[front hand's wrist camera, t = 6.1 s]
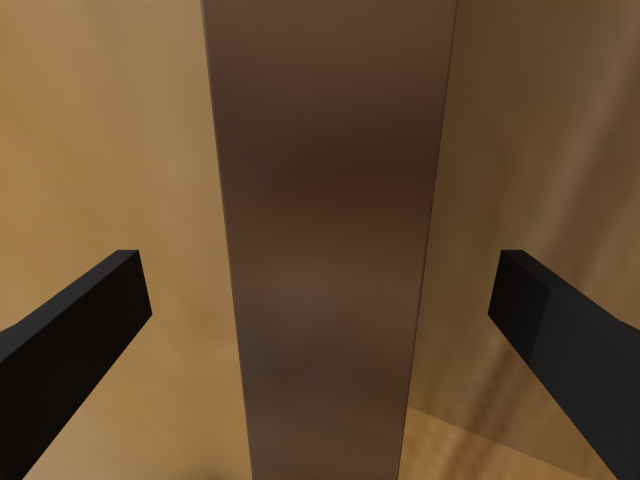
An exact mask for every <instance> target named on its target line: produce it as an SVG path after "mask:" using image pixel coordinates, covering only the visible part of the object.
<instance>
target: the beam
mask: <svg viewBox="0 0 640 480" xmlns="http://www.w3.org/2000/svg"><path fill="white" fill-rule="evenodd" d="M200 1H201V10H202V19H203V28H204V38H205V47H206V56H207V65H208V74H209V84H210V93H211V102H212V111H213V120H214V130H215V139H216V148H217V157H218V166H219V176H220V185H221V194H222V203H223V212H224V222H225V231H226V240H227V249H228V258H229V268H230V277H231V286H232V295H233V304H234V314H235V323H236V332H237V341H238V350H239V360H240V369H241V378H242V387H243V396H244V406H245V415H246V424H247V433H248V442H249V452H250V461H251V470H252V479H253V480H398V474H399V466H400V458H401V450H402V442H403V434H404V426H405V418H406V410H407V403H408V395H409V387H410V379H411V371H412V363H413V355H414V347H415V339H416V331H417V323H418V315H419V307H420V299H421V291H422V283H423V275H424V267H425V259H426V251H427V243H428V235H429V227H430V219H431V211H432V203H433V196H434V188H435V180H436V172H437V164H438V156H439V148H440V140H441V132H442V124H443V116H444V108H445V100H446V92H447V84H448V76H449V68H450V60H451V52H452V44H453V36H454V28H455V20H456V12H457V4H458V0H200Z"/></svg>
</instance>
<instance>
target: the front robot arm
mask: <svg viewBox="0 0 640 480" xmlns="http://www.w3.org/2000/svg"><path fill="white" fill-rule="evenodd" d="M151 316H152V310H151V305H150V301H149V296H148V291H147V287H146V282H145V277H144V273H143V268H142V263H141V259H140V254H139V250H117V251H115V252H114V253H112V254H111V255H110V256H108V257H107V258H106V259H104V260H103V261H102V262H100V263H99V264H97V265H96V266H95V267H93V268H92V269H91V270H89V271H88V272H87V273H85V274H84V275H82V276H81V277H80V278H78V279H77V280H76V281H74V282H73V283H71V284H70V285H69V286H67V287H66V288H65V289H63V290H62V291H61V292H59V293H58V294H56V295H55V296H54V297H52V298H51V299H50V300H48V301H47V302H45V303H44V304H43V305H41V306H40V307H39V308H37V309H36V310H35V311H33V312H32V313H30V314H29V315H28V316H26V317H25V318H24V319H22V320H21V321H19V322H18V323H17V324H15V325H13V326H11V327H9V328H7V329H5V330H3V331H1V332H0V480H22V479H23V478H24V477H25V476H26V474H27V473H28V472H29V470H30V469H31V468H32V467H33V465H34V464H35V463H36V462H37V460H38V459H39V458H40V457H41V455H42V454H43V453H44V451H45V450H46V449H47V448H48V446H49V445H50V444H51V443H52V441H53V440H54V439H55V437H56V436H57V435H58V434H59V432H60V431H61V430H62V429H63V427H64V426H65V425H66V424H67V422H68V421H69V420H70V418H71V417H72V416H73V415H74V413H75V412H76V411H77V410H78V408H79V407H80V406H81V404H82V403H83V402H84V401H85V399H86V398H87V397H88V396H89V394H90V393H91V392H92V391H93V389H94V388H95V387H96V385H97V384H98V383H99V382H100V380H101V379H102V378H103V377H104V375H105V374H106V373H107V371H108V370H109V369H110V368H111V366H112V365H113V364H114V363H115V361H116V360H117V359H118V358H119V356H120V355H121V354H122V352H123V351H124V350H125V349H126V347H127V346H128V345H129V344H130V342H131V341H132V340H133V338H134V337H135V336H136V335H137V333H138V332H139V331H140V330H141V328H142V327H143V326H144V325H145V323H146V322H147V321H148V319H149V318H150V317H151ZM488 316H489V317H490V318H491V319H492V321H493V322H494V323H495V325H496V326H497V327H498V328H499V330H500V331H501V332H502V333H503V335H504V336H505V337H506V338H507V340H508V341H509V342H510V344H511V345H512V346H513V347H514V349H515V350H516V351H517V352H518V354H519V355H520V356H521V358H522V359H523V360H524V361H525V363H526V364H527V365H528V366H529V368H530V369H531V370H532V371H533V373H534V374H535V375H536V377H537V378H538V379H539V380H540V382H541V383H542V384H543V385H544V387H545V388H546V389H547V391H548V392H549V393H550V394H551V396H552V397H553V398H554V399H555V401H556V402H557V403H558V404H559V406H560V407H561V408H562V410H563V411H564V412H565V413H566V415H567V416H568V417H569V418H570V420H571V421H572V422H573V424H574V425H575V426H576V427H577V429H578V430H579V431H580V432H581V434H582V435H583V436H584V437H585V439H586V440H587V441H588V443H589V444H590V445H591V446H592V448H593V449H594V450H595V451H596V453H597V454H598V455H599V457H600V458H601V459H602V460H603V462H604V463H605V464H606V465H607V467H608V468H609V469H610V470H611V472H612V473H613V474H614V476H615V477H616V478H617V479H618V480H640V330H638V329H636V328H634V327H632V326H630V325H628V324H626V323H624V322H622V321H619V320H618V319H616V318H615V317H614V316H612V315H611V314H610V313H608V312H607V311H605V310H604V309H603V308H601V307H600V306H599V305H597V304H596V303H595V302H593V301H592V300H590V299H589V298H588V297H586V296H585V295H584V294H582V293H581V292H579V291H578V290H577V289H575V288H574V287H573V286H571V285H570V284H569V283H567V282H566V281H564V280H563V279H562V278H560V277H559V276H558V275H556V274H555V273H553V272H552V271H551V270H549V269H548V268H547V267H545V266H544V265H543V264H541V263H540V262H538V261H537V260H536V259H534V258H533V257H532V256H530V255H529V254H528V253H526V252H525V251H523V250H501V254H500V259H499V263H498V268H497V273H496V277H495V282H494V287H493V291H492V296H491V301H490V305H489V310H488Z"/></svg>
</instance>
